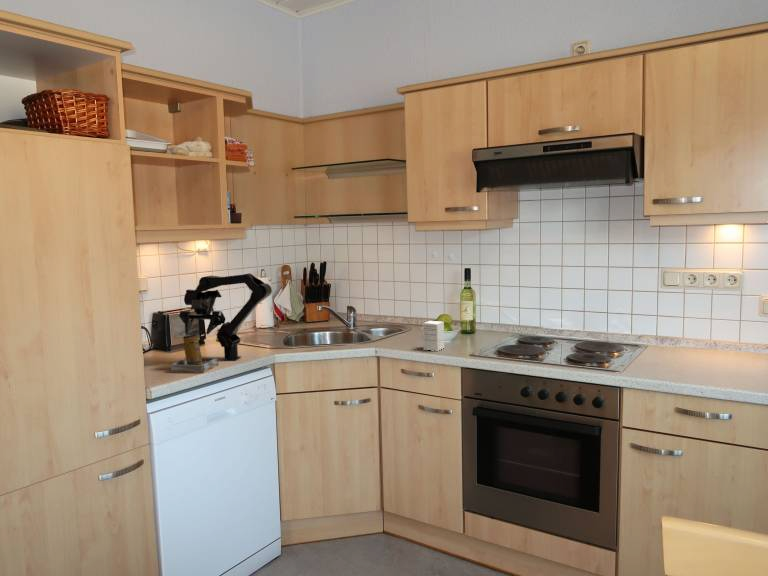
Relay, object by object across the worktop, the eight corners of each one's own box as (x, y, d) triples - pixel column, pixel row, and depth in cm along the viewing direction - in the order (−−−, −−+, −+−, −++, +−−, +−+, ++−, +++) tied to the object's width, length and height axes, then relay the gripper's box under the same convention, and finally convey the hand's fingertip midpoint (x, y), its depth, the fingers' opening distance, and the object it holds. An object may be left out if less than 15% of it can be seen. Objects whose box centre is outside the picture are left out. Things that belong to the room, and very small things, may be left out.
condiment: (198, 363, 260) (192, 335, 261) (209, 361, 254) (203, 332, 255) (182, 367, 255) (177, 338, 255) (193, 364, 249) (187, 335, 250)
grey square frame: (187, 364, 264) (186, 357, 263) (218, 364, 261) (217, 357, 261) (170, 372, 250) (170, 365, 250) (203, 373, 247) (202, 365, 247)
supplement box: (430, 347, 287) (429, 320, 285) (444, 348, 283) (444, 321, 281) (422, 350, 280) (422, 322, 279) (437, 352, 276) (437, 323, 275)
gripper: (179, 292, 264) (167, 322, 254) (221, 292, 261) (210, 322, 251) (189, 307, 273) (178, 337, 263) (229, 308, 269) (220, 338, 260)
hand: (196, 333), depth 259 cm, fingers open, 9 cm apart
